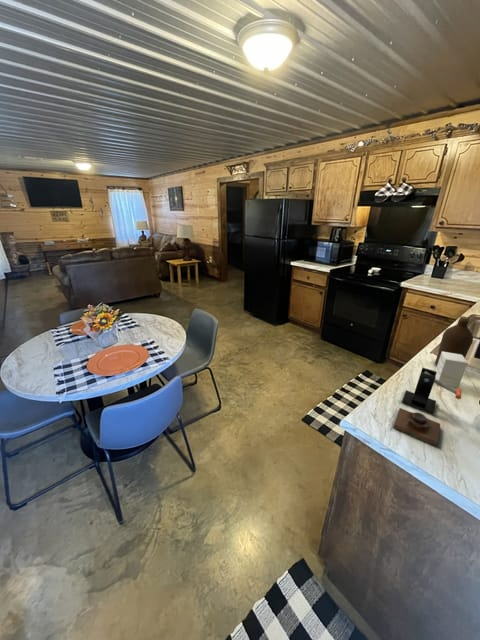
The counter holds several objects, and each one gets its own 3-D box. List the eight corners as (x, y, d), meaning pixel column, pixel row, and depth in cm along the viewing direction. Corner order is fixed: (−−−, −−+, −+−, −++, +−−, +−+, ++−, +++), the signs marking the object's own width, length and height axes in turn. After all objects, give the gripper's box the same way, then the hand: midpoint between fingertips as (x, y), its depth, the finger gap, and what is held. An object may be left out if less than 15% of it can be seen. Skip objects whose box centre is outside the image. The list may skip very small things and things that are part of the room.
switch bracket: (435, 403, 99) (446, 372, 94) (433, 415, 94) (445, 382, 88) (405, 392, 105) (414, 363, 100) (401, 402, 99) (411, 372, 94)
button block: (438, 427, 88) (441, 419, 87) (436, 446, 81) (439, 437, 80) (398, 411, 95) (400, 403, 94) (392, 427, 88) (395, 419, 86)
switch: (458, 393, 92) (463, 389, 91) (458, 401, 89) (463, 396, 87) (422, 373, 98) (426, 369, 97) (420, 379, 94) (424, 375, 93)
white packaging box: (453, 379, 114) (463, 354, 109) (458, 389, 107) (468, 363, 102) (433, 375, 116) (441, 350, 112) (436, 384, 110) (445, 358, 105)
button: (425, 419, 87) (426, 415, 86) (424, 426, 84) (425, 422, 84) (412, 414, 89) (414, 410, 88) (411, 420, 86) (412, 416, 86)
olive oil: (443, 372, 119) (462, 322, 109) (428, 360, 128) (443, 312, 119) (467, 373, 118) (487, 322, 109) (450, 360, 128) (467, 313, 119)
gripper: (490, 279, 81) (464, 347, 90) (493, 287, 71) (464, 362, 80) (524, 283, 76) (493, 354, 85) (532, 293, 67) (497, 371, 76)
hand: (479, 358), depth 83 cm, fingers closed
